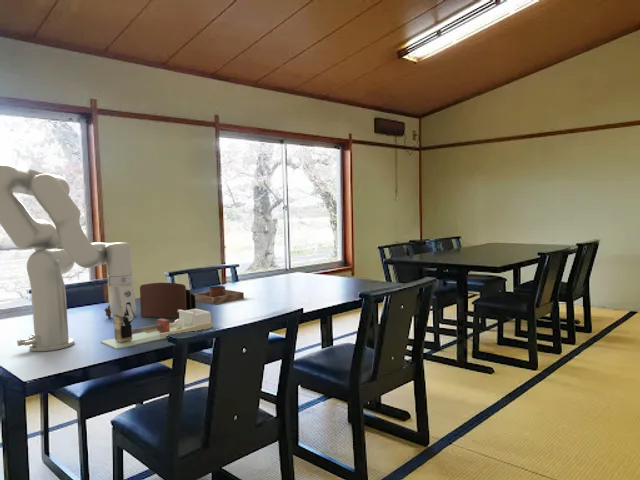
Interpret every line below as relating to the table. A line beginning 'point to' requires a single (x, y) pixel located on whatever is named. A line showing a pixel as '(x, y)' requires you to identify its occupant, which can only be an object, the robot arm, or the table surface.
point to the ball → (178, 323)
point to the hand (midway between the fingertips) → (123, 335)
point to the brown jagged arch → (108, 311)
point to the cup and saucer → (217, 291)
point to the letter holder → (165, 299)
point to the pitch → (192, 322)
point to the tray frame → (221, 299)
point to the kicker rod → (161, 326)
